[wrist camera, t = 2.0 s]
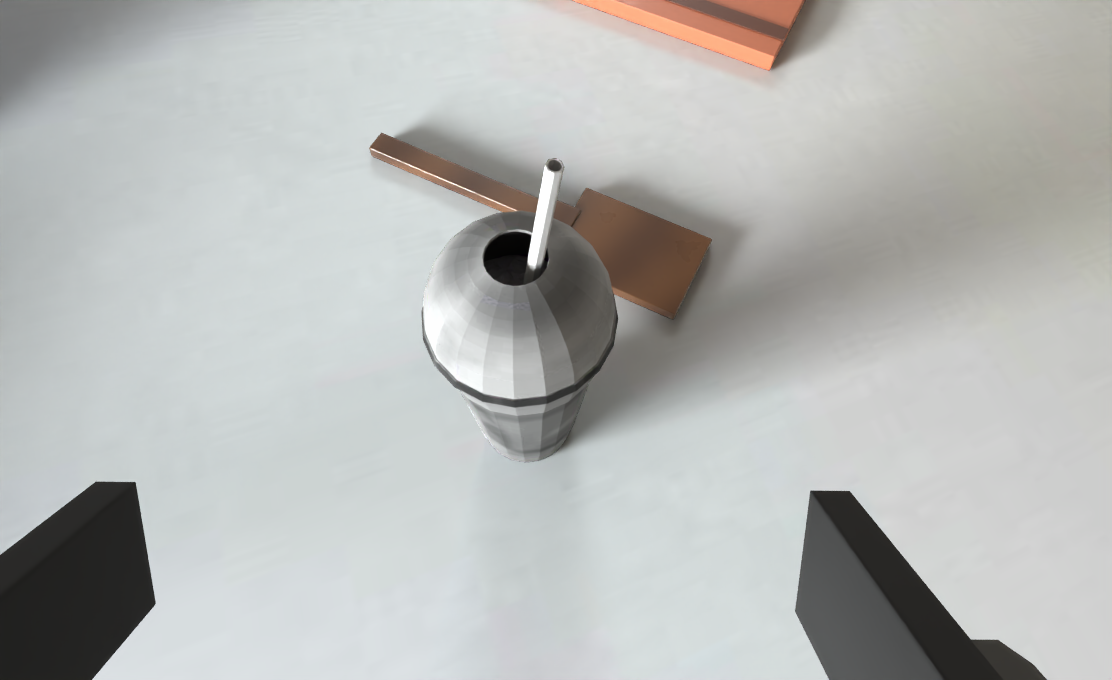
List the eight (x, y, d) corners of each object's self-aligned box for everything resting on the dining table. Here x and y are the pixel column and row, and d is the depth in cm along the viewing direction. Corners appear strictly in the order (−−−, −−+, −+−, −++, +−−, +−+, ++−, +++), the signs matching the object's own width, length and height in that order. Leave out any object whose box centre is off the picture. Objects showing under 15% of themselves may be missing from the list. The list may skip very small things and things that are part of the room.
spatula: (352, 180, 43) (349, 171, 43) (401, 118, 46) (399, 109, 45) (673, 320, 40) (675, 313, 39) (709, 245, 42) (712, 237, 41)
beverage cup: (462, 352, 38) (389, 58, 20) (598, 357, 38) (644, 66, 20) (449, 487, 35) (349, 278, 17) (597, 491, 35) (651, 287, 17)
